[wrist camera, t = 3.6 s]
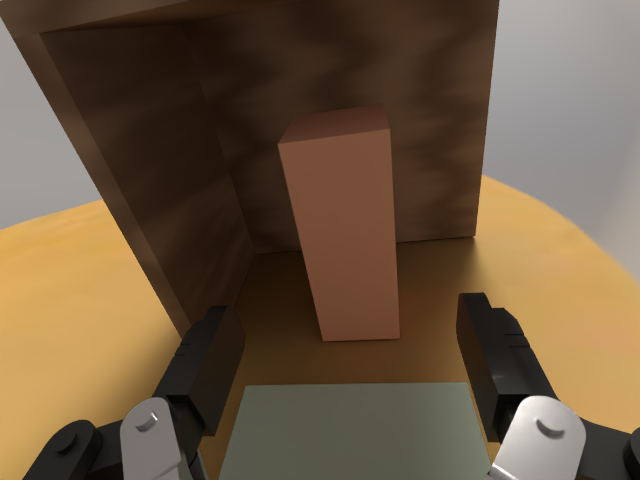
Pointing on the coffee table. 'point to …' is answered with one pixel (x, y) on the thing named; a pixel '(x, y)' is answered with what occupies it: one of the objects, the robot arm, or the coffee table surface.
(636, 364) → the coffee table surface
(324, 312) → the terracotta block
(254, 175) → the walnut box
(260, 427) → the sage mat
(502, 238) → the coffee table surface
